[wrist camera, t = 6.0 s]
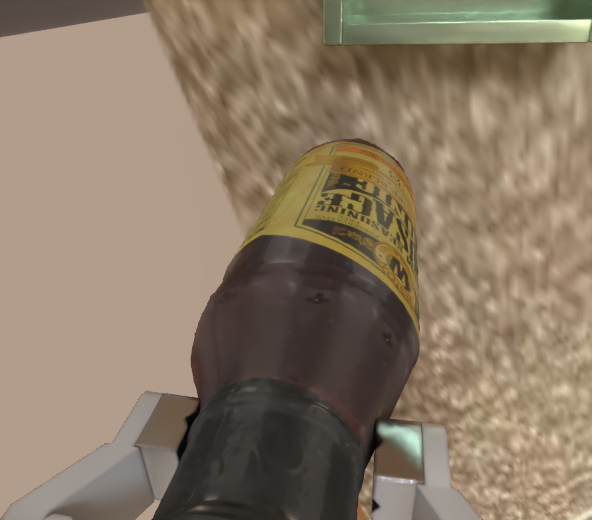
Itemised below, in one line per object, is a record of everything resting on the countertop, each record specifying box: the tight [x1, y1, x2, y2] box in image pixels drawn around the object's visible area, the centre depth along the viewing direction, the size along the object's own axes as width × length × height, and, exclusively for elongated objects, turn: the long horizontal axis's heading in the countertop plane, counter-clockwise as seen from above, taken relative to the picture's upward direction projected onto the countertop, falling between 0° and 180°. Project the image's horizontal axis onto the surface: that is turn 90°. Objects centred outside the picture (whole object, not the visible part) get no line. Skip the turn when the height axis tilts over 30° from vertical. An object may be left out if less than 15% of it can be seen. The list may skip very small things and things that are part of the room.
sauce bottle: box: [152, 138, 420, 520], centre depth 16 cm, size 6×6×20 cm
